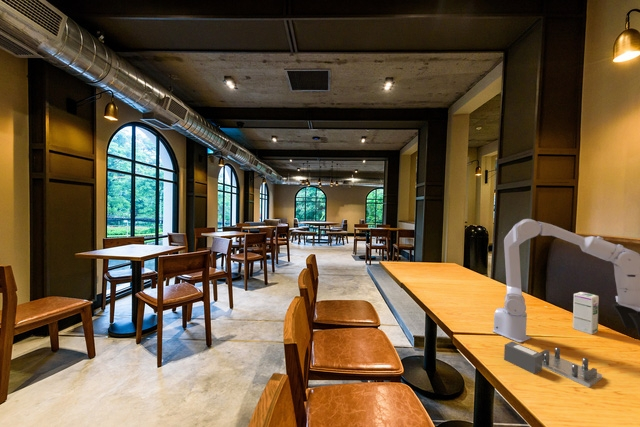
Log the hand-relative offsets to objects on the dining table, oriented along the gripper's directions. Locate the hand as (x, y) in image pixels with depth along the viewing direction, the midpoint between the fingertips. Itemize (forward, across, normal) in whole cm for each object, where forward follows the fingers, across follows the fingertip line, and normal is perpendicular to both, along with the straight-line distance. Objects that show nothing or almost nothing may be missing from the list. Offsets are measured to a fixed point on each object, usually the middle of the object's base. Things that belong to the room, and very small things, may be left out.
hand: (637, 332), depth 80 cm
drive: (+6, -16, +32) cm, 37 cm away
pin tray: (+8, -13, +21) cm, 26 cm away
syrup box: (+10, +25, +5) cm, 28 cm away
